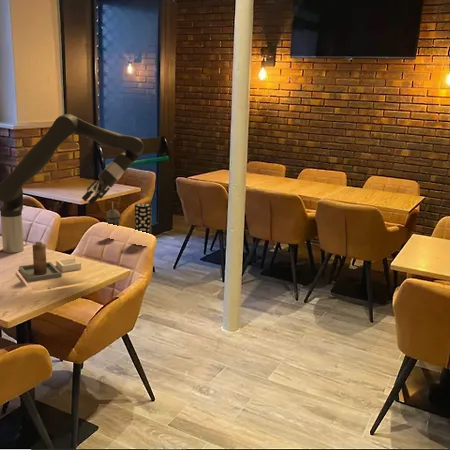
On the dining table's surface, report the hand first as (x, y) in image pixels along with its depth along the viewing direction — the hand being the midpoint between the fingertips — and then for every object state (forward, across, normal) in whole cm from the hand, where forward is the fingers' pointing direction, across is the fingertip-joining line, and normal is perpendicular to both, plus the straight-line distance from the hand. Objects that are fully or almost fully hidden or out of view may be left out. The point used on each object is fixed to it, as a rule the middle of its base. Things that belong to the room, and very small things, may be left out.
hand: (86, 201), depth 224 cm
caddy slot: (+27, +5, +13) cm, 30 cm away
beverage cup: (+2, -34, +38) cm, 51 cm away
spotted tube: (-5, -19, +45) cm, 49 cm away
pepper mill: (+35, +7, +3) cm, 36 cm away
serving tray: (+36, +7, +4) cm, 37 cm away
